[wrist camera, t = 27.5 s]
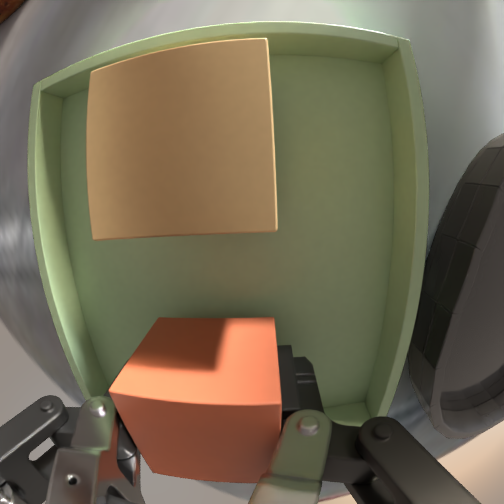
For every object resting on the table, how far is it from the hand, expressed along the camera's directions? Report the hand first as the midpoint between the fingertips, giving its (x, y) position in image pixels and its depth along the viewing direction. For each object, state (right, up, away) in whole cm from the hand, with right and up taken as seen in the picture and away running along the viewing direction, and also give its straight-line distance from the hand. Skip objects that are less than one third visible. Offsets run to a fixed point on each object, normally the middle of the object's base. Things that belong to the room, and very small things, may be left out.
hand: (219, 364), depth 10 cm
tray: (0, +4, +1) cm, 4 cm away
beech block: (0, +8, -1) cm, 8 cm away
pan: (+19, +2, 0) cm, 19 cm away
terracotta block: (0, 0, 0) cm, 0 cm away
